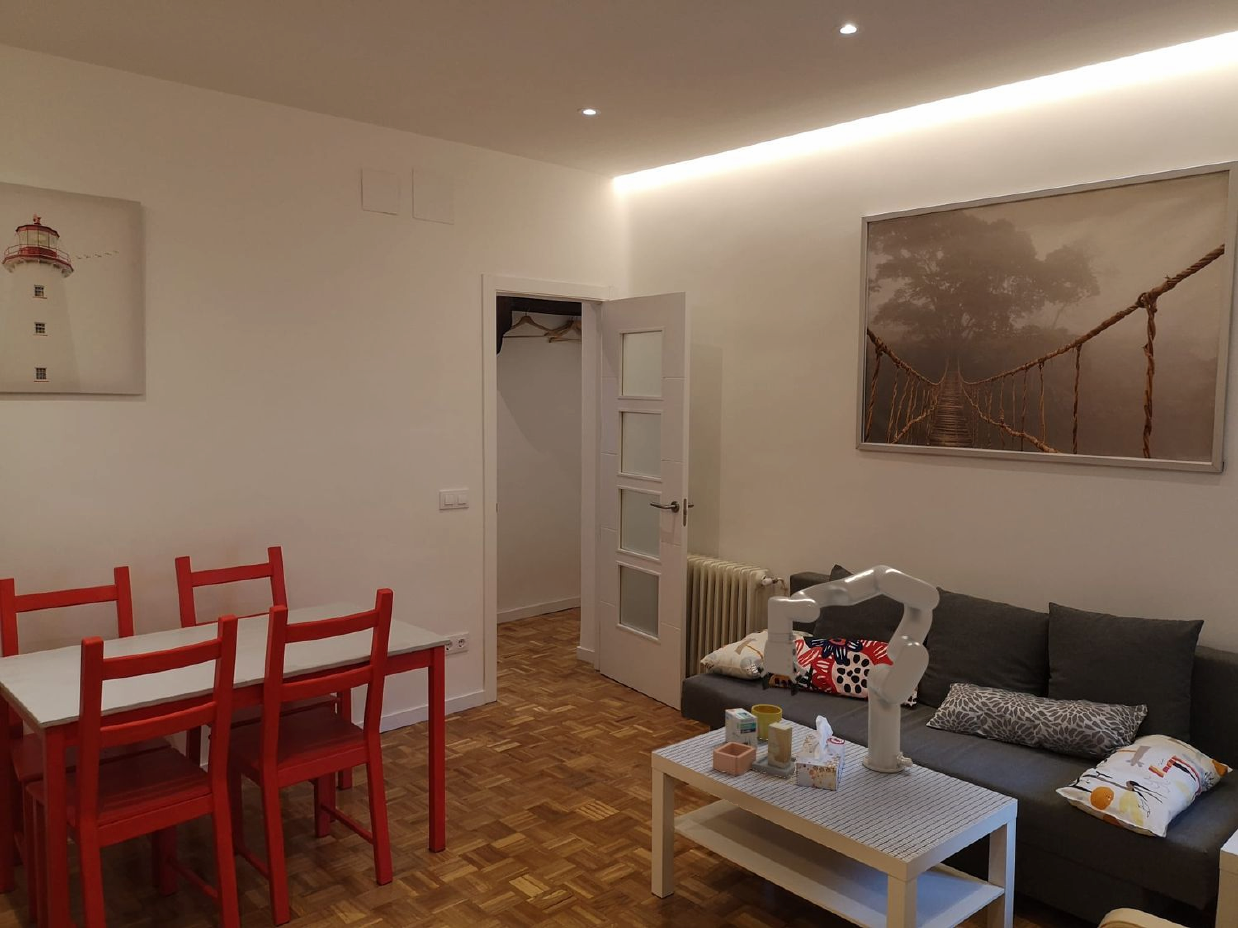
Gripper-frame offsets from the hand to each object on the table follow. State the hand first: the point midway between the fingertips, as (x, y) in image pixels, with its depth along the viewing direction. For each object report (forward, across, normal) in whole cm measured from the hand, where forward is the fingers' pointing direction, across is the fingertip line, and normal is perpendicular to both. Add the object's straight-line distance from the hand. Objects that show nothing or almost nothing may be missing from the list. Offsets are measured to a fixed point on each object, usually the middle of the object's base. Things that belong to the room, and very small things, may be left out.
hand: (779, 691), depth 272 cm
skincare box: (+23, 0, 0) cm, 23 cm away
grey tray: (+24, 0, 0) cm, 24 cm away
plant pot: (+24, +16, -22) cm, 36 cm away
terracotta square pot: (+24, +11, +8) cm, 27 cm away
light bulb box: (+24, +19, -10) cm, 32 cm away
